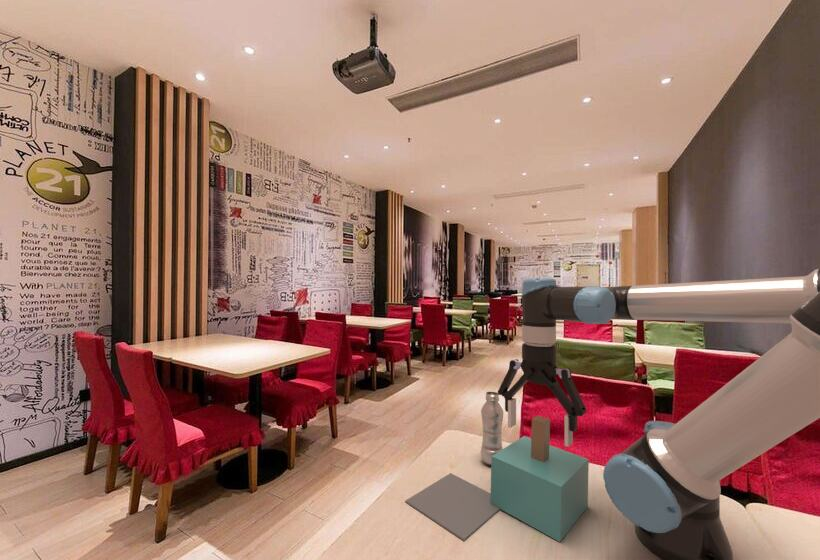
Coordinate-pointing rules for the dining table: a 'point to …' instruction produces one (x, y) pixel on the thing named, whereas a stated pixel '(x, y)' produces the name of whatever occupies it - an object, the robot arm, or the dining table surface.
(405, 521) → the dining table surface
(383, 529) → the dining table surface
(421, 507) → the mat
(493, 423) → the plastic bottle
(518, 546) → the dining table surface
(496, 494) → the teal base with peg
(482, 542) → the dining table surface
